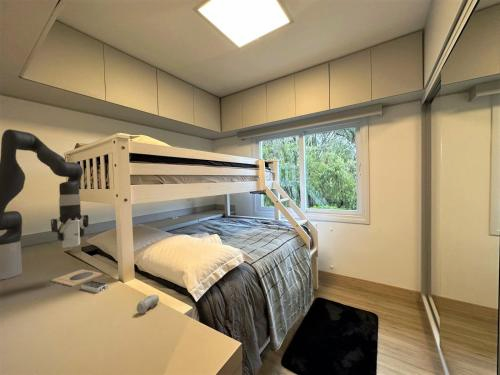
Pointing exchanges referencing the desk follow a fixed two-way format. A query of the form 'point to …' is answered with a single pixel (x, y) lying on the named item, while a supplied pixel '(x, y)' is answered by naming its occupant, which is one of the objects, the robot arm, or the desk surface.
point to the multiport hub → (94, 286)
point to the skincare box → (71, 234)
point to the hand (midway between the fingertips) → (71, 238)
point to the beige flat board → (76, 277)
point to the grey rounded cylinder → (147, 303)
